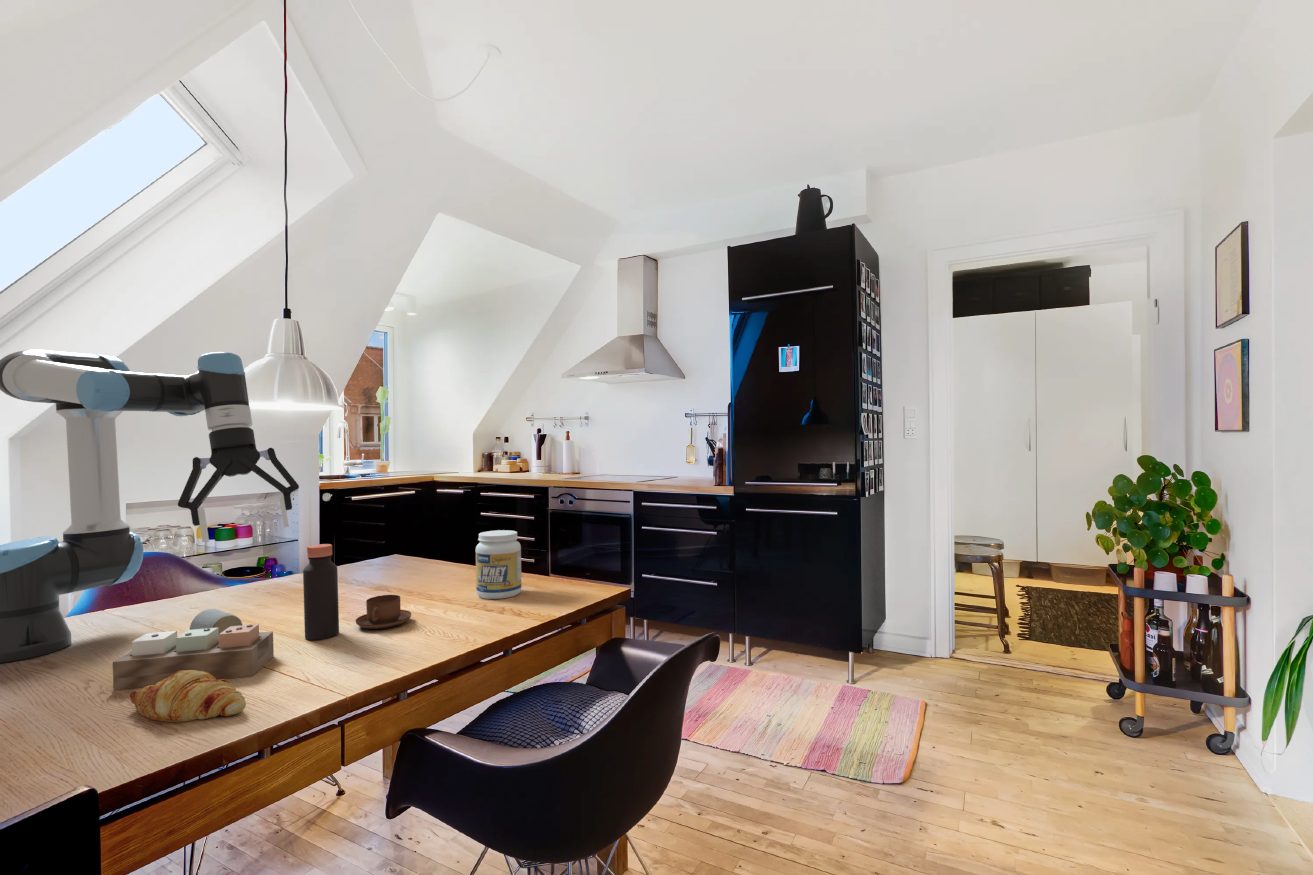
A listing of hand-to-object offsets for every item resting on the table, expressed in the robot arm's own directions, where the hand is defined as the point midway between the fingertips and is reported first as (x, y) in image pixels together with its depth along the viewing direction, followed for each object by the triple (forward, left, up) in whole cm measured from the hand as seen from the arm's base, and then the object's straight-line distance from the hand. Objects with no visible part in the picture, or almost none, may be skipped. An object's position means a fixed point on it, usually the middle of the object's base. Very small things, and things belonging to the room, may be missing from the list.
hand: (247, 534), depth 126 cm
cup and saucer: (+22, +18, -25) cm, 38 cm away
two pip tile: (-7, -4, -21) cm, 23 cm away
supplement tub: (+48, +38, -25) cm, 66 cm away
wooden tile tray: (-7, -4, -25) cm, 26 cm away
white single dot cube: (-14, -4, -21) cm, 26 cm away
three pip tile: (0, -4, -21) cm, 21 cm away
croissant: (-1, -24, -25) cm, 35 cm away
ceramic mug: (-10, +14, -25) cm, 31 cm away
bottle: (+10, +13, -25) cm, 30 cm away
